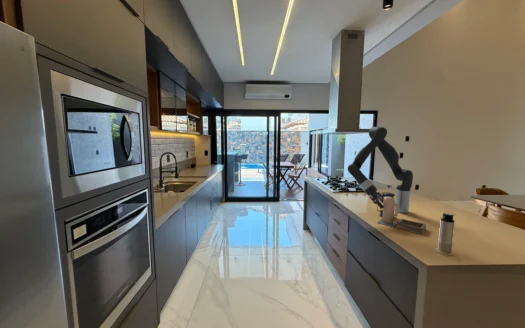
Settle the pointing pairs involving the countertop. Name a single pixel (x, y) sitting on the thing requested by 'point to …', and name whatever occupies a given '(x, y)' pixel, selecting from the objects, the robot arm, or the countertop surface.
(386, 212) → the jug
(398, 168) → the robot arm
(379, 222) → the mat
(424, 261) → the countertop surface
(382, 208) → the french press
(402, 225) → the wooden tray
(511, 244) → the countertop surface
